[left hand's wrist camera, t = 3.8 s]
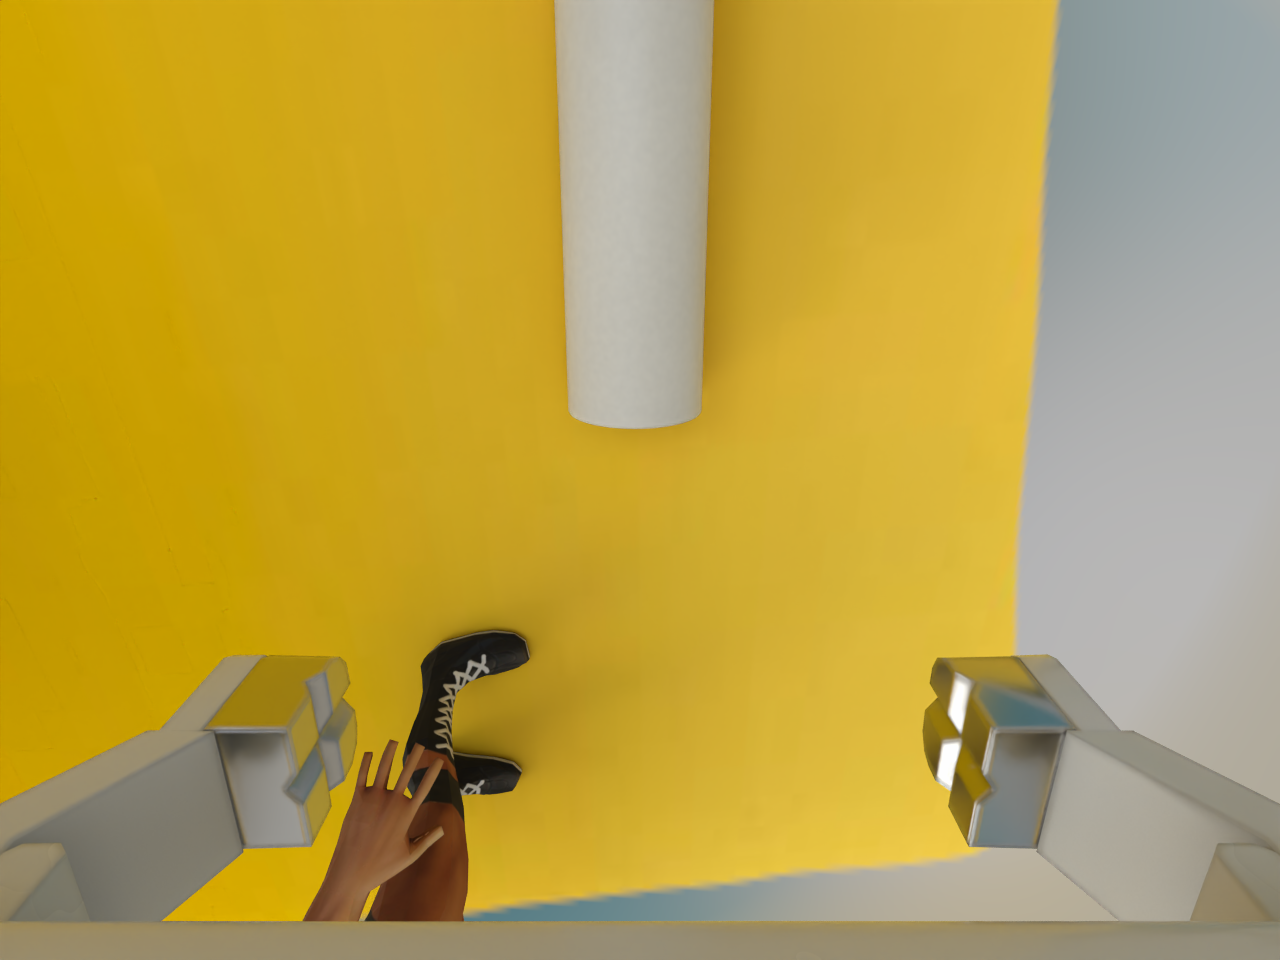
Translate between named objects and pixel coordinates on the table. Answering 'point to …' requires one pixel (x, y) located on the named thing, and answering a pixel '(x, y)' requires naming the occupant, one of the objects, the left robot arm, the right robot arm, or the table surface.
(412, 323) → the table surface
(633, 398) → the rod
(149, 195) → the table surface
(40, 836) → the left robot arm
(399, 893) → the figurine
